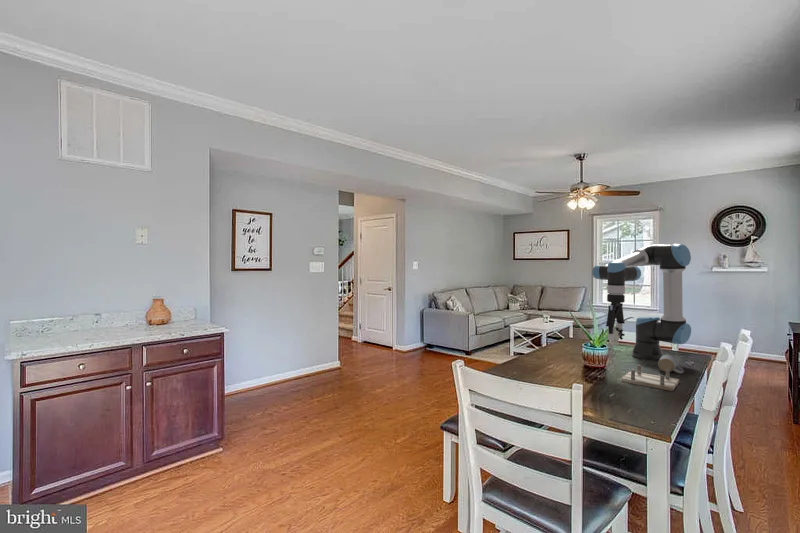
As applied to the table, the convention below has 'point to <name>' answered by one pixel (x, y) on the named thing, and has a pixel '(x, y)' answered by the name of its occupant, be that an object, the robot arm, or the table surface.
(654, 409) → the table surface
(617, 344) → the valve
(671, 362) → the ceramic mug
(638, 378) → the peg board
